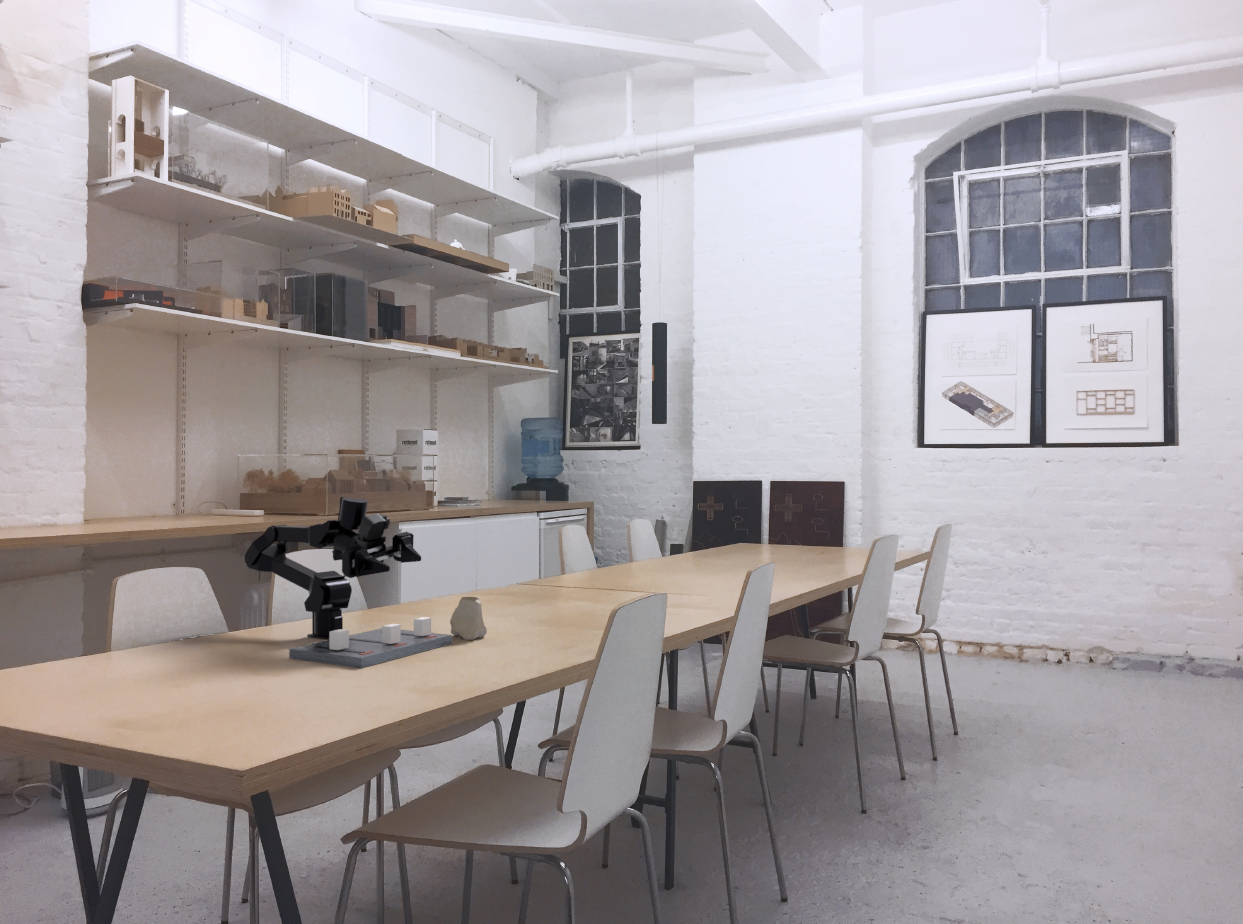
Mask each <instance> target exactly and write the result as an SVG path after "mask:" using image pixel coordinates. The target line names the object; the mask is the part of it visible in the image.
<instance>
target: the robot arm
mask: <svg viewBox="0 0 1243 924" xmlns="http://www.w3.org/2000/svg"><path fill="white" fill-rule="evenodd" d="M339 499H340V500H339V510H338V516H337V517H338V518H337V519H331V520H330V519H329V520H326V521H324V522H323V523H318V524H317V523H316V524H313V525H309V526H302V525H301V526H300V525H287V524H277V525H275V524H274V525H269V526H268V527H267V528H266V530H265V531H264V533H263V534H261V535H260V536H259V537H257V538H256V539H255V540H253V542H251V544H250V546H249V547H248V549H247V551H246V552H245V553H244V562H245V564H246V567H248V569H249V570H252V571H256V572H264V573H265V572H267V573H273V574H274V575H277V576H279V577H280V578H282V579H284V580H286V581H288V582H289V583H293V584H294V585H296V586H298V587H300V588H302V589H303V590H306V591H307V592H308V597H306V599H305V601H304V602H303V605H304V608H305V611H306V612H311V615H312V616H311V617H312V624H311V625H312V629H311V630H312V633H309V634H308V633H307V637H308V638H314V639H315V638H316V639H327V640H329V631H334V630H339V629H343V630H344V628H343V620H344V619H343V617H344V616H343V615H342V614H343V612H342V609H348V607H349V604H350V600H351V597H352V596H351V595H352V592H353V589H352V586H351V583H350V581H349V580H348V579H347V578H349V579H352V578H353V579H354V578H356V577H357V578H360V577H363V576H369V575H376V574H381V573H388V572H390V569H391V568H390V566H389V565H388V564H386V563H385V560H387V559H390V558H393V559H394V561H395V562H400V563H401V564H402V563H414V562H415V563H417V562H421V561H422V555H420V553H419V552H418V551H417V550H416V549H415V548H414V534H413V533H411V532H409V531H404V532H400V533H397V534H395V535H393V536H392V542H391V543H392V545H390V546H387V547H386V544H385V543H386V541H387V538H386V537H387V536H386V535H384V533H385V530H387V529H389V526H390V523H391V521H390V518H389V517H388V516H387V514H382V513H374V514H369V515H367V512H368V511H367V509H368V505H369V504H368V503H369V501H368V500H367V499H364V498H356V497H349V496H341V497H340V498H339ZM354 530H355V531H354ZM356 530H358V532H357V531H356ZM289 542H291V543H305V544H308V545H309V546H310V547H313V548H317V549H329V548H330V549H331V548H333V550H332V558H333V561H335V562H336V561H341V573H342V574H343V575H342V574H341V573H340V574H339V572H338V571H335V570H328V571H321V572H318V571H315V570H313V569H311V568H309V567H307V566H305V565H303V564H301V563H299V562H296V561H295V560H292V559H291V558H289V557H287V555H286V554H287V552H288V550H289V549H288V548H289V546H288V543H289ZM274 543H277V544H274Z"/></svg>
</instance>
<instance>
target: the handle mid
mask: <svg viewBox="0 0 1243 924" xmlns="http://www.w3.org/2000/svg"><path fill="white" fill-rule="evenodd" d="M381 628H382V643H387V644H393V643H397V642H401V630H402V629H401V624H399V623H398V624H397V623H390V624H384V625H382V626H381Z"/></svg>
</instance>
